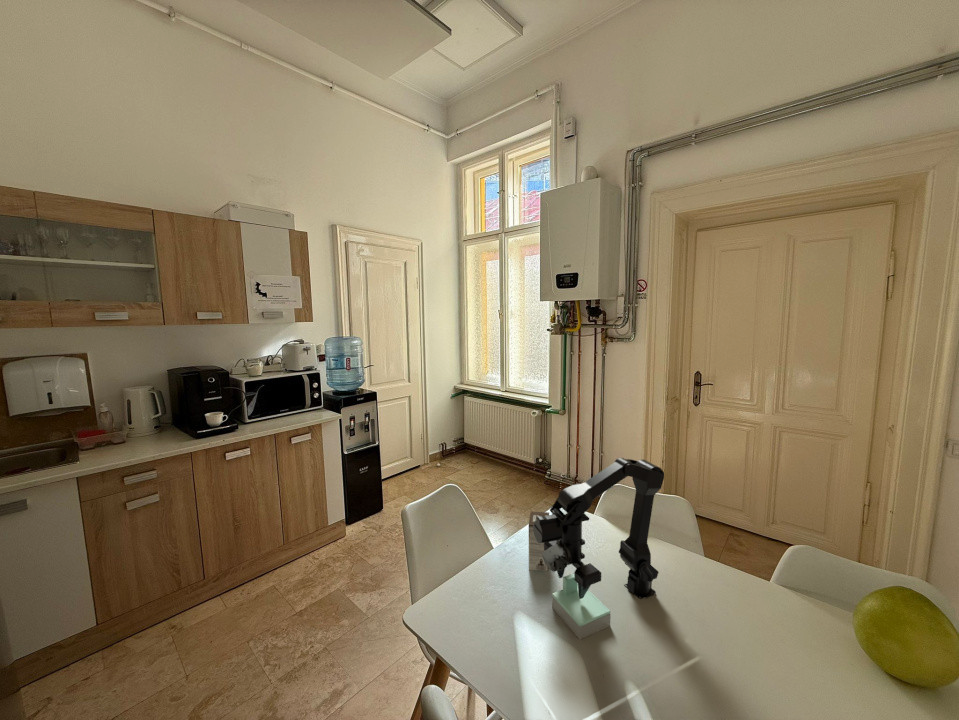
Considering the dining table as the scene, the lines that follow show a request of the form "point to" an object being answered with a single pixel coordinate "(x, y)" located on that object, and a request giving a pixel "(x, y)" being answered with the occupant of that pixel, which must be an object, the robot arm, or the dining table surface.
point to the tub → (585, 629)
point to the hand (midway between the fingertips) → (570, 587)
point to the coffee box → (536, 545)
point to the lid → (579, 602)
